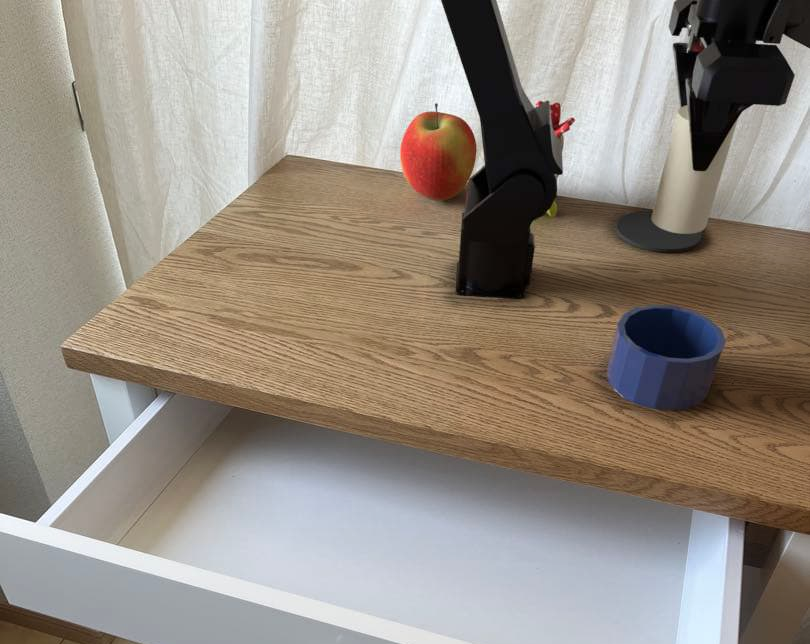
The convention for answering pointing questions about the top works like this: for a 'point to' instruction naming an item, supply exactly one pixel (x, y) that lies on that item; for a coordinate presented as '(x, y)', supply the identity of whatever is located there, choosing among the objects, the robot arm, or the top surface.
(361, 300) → the top surface
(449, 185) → the apple
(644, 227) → the coaster
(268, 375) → the top surface
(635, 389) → the cup
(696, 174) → the cream cylinder
